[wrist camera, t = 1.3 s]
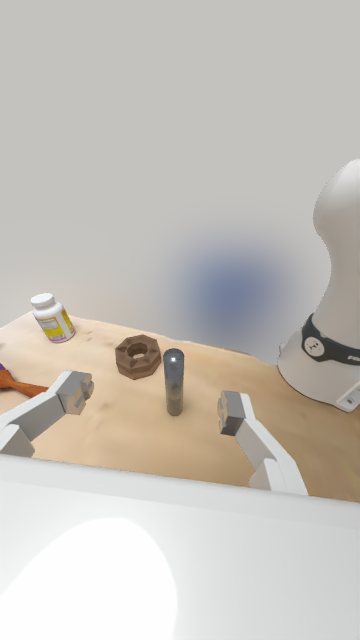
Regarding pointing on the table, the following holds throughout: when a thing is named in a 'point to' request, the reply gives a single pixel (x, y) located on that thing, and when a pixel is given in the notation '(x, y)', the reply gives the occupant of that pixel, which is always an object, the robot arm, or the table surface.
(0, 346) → the table surface
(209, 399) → the table surface
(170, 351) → the grey metal peg
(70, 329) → the supplement bottle
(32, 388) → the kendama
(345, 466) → the table surface
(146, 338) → the bead
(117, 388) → the table surface
